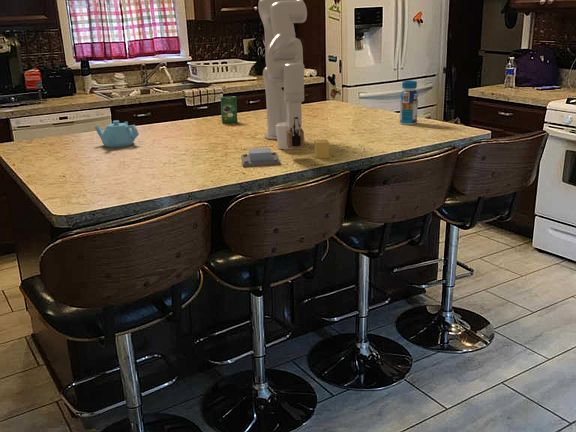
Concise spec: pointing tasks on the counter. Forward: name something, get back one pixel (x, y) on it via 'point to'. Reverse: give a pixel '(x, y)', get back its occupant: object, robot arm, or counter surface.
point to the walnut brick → (289, 138)
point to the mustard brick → (321, 148)
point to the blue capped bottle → (408, 103)
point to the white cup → (282, 135)
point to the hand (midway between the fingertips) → (295, 143)
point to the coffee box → (229, 109)
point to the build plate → (260, 163)
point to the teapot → (117, 134)
